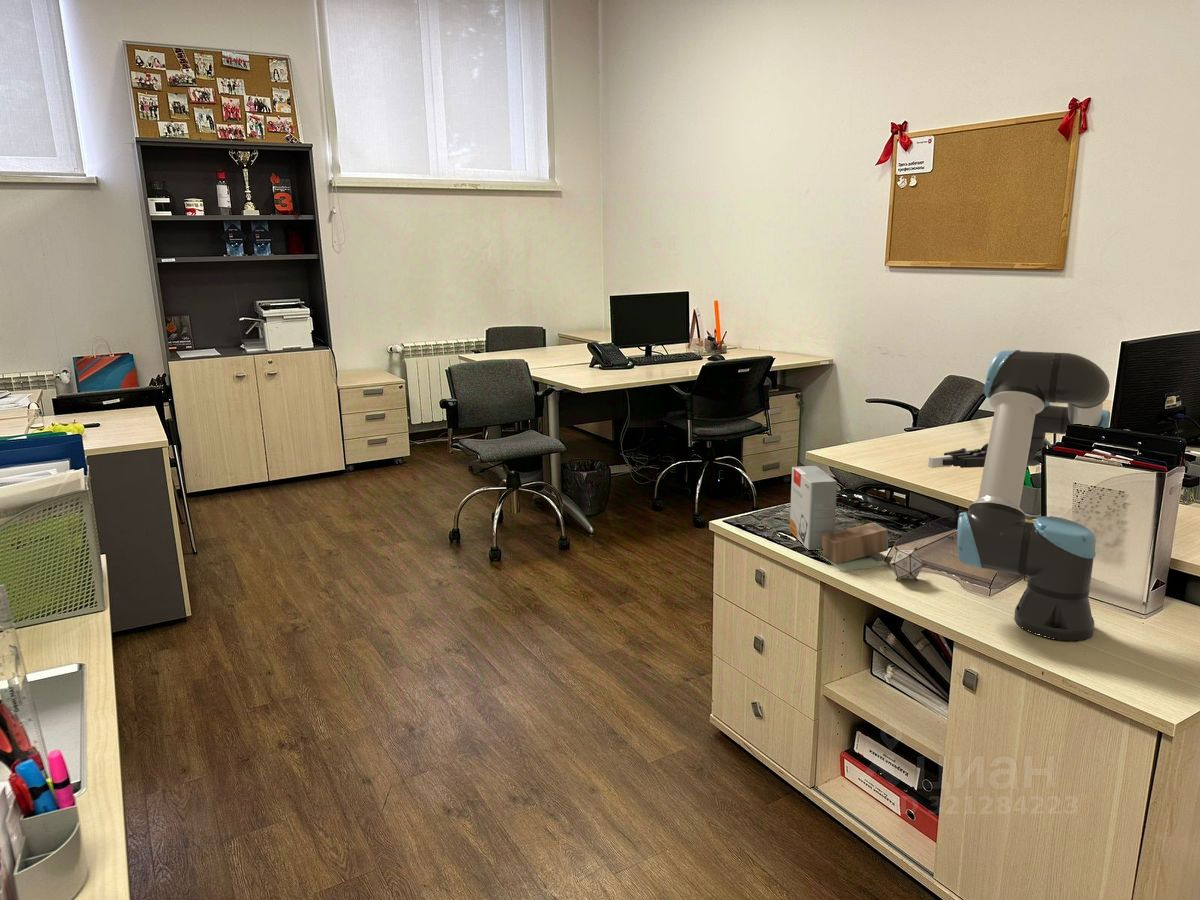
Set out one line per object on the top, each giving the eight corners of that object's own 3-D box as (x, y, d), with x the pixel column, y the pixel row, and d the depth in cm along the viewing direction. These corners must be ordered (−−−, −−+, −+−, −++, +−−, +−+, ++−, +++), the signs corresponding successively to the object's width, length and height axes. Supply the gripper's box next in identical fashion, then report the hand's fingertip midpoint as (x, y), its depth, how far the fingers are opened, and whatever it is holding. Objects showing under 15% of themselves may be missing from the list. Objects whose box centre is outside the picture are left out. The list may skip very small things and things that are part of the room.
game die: (907, 590, 203) (927, 556, 204) (917, 592, 195) (938, 557, 195) (875, 570, 205) (896, 537, 205) (884, 571, 196) (905, 537, 197)
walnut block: (887, 529, 212) (834, 543, 208) (888, 550, 214) (835, 564, 210) (873, 522, 218) (821, 535, 214) (874, 542, 219) (822, 556, 215)
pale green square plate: (887, 564, 210) (887, 559, 209) (844, 572, 206) (844, 566, 205) (854, 546, 223) (855, 541, 222) (813, 553, 219) (813, 547, 218)
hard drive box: (788, 532, 235) (791, 466, 230) (813, 530, 235) (817, 465, 230) (807, 551, 220) (810, 481, 215) (834, 550, 220) (838, 480, 216)
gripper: (1017, 474, 218) (946, 482, 211) (981, 463, 230) (912, 470, 223) (1020, 447, 216) (949, 454, 209) (983, 437, 228) (915, 443, 221)
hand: (930, 462), depth 216 cm, fingers closed
